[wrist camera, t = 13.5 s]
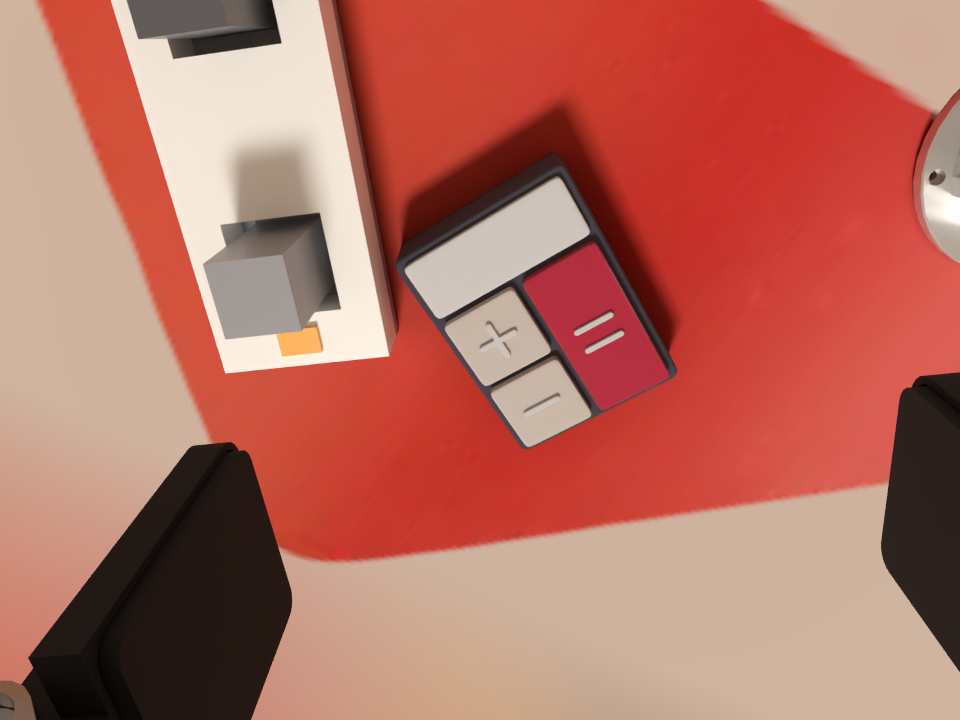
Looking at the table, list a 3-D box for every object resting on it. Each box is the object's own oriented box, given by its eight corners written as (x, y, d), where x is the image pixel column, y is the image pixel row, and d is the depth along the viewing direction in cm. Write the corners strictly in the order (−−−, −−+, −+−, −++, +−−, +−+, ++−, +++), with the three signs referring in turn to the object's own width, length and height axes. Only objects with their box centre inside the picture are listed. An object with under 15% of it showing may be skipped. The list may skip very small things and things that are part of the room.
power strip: (305, -160, 35) (279, -184, 31) (398, 330, 45) (388, 358, 42) (111, -127, 36) (62, -147, 32) (247, 346, 46) (223, 375, 42)
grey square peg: (321, 215, 42) (282, 254, 34) (336, 280, 43) (301, 331, 36) (255, 224, 42) (202, 264, 35) (272, 288, 44) (225, 339, 36)
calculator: (524, 459, 45) (389, 269, 40) (521, 423, 49) (398, 245, 43) (683, 381, 43) (563, 164, 37) (667, 349, 46) (556, 148, 41)
